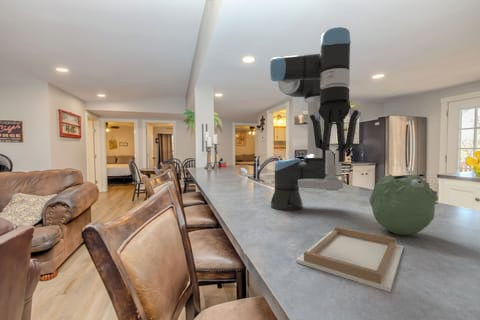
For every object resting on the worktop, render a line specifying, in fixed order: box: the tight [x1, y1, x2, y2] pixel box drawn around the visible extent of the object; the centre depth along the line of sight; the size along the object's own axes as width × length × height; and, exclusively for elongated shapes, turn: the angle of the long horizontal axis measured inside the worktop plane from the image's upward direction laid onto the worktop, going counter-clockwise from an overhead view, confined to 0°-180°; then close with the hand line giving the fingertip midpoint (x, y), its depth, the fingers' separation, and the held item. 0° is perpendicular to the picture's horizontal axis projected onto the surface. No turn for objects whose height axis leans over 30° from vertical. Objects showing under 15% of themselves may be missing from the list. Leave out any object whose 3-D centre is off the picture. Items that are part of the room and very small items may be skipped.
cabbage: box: [369, 173, 439, 236], centre depth 79 cm, size 16×19×20 cm
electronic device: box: [298, 153, 344, 191], centre depth 70 cm, size 5×10×15 cm
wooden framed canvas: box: [295, 226, 404, 293], centre depth 64 cm, size 26×20×3 cm
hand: (333, 173), depth 67 cm, fingers closed on electronic device, 2 cm apart
